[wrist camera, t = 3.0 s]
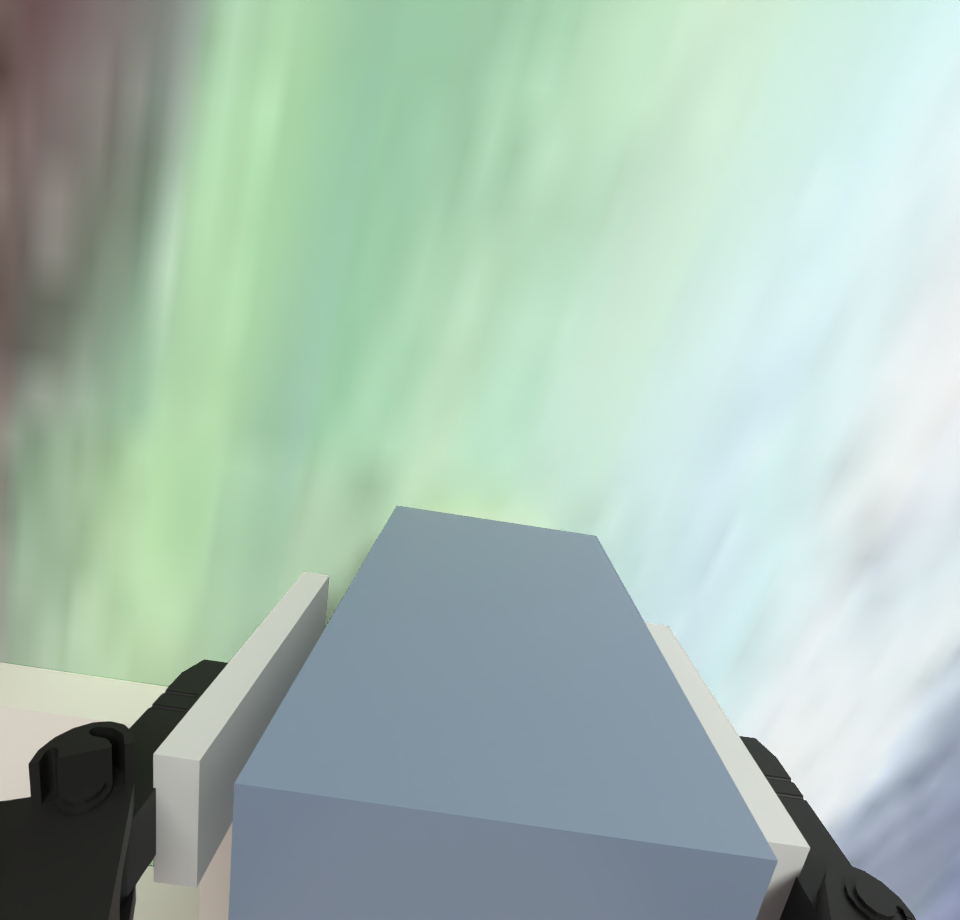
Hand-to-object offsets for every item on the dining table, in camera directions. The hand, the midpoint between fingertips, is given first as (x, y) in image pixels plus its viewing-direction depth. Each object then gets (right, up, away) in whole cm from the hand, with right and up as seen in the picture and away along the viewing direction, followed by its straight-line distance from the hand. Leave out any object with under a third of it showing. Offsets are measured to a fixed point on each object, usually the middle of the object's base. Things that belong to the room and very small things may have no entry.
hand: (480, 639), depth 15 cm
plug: (0, +1, +3) cm, 4 cm away
